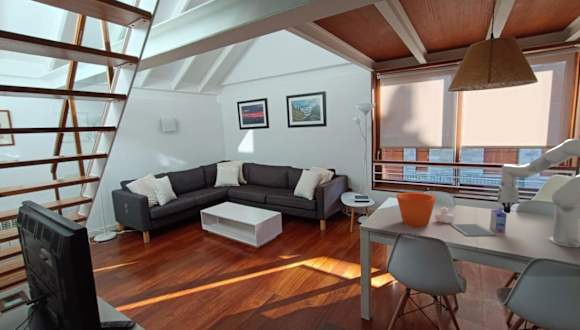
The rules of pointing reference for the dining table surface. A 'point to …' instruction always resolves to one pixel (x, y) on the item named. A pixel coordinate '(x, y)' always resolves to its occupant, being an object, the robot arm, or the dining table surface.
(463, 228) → the mat
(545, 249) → the dining table surface
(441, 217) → the white lumpy piece
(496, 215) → the ink cartridge box
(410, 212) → the flowerpot
